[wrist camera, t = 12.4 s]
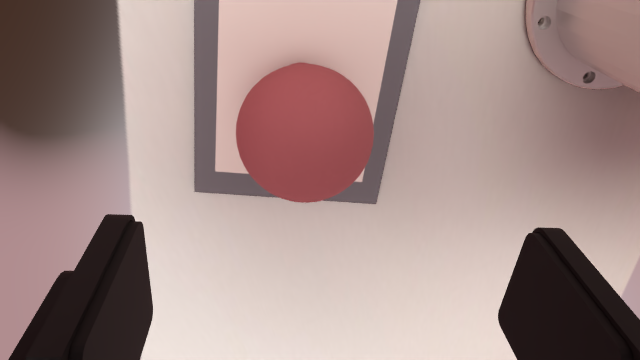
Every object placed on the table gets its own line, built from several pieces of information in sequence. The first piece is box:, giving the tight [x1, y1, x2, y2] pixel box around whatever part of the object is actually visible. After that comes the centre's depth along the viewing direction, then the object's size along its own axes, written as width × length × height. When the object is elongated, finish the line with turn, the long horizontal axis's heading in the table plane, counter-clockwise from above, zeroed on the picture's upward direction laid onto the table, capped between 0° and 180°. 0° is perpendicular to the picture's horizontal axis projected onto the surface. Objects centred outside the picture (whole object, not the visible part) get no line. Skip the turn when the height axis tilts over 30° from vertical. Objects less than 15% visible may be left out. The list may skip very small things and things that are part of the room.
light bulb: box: [236, 62, 374, 202], centre depth 27 cm, size 7×7×12 cm
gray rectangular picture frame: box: [194, 0, 420, 204], centre depth 33 cm, size 19×14×1 cm
